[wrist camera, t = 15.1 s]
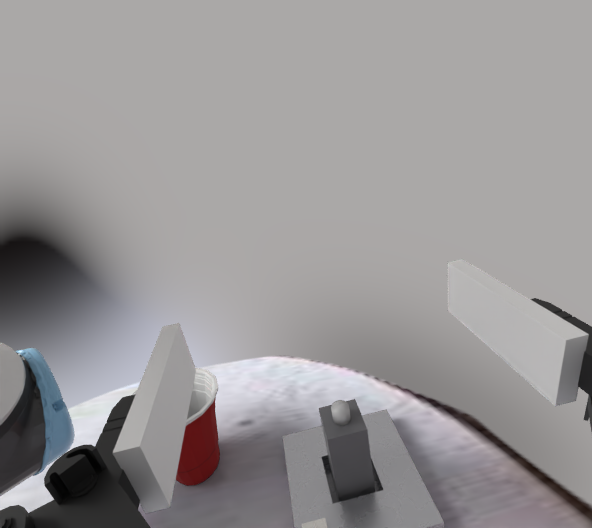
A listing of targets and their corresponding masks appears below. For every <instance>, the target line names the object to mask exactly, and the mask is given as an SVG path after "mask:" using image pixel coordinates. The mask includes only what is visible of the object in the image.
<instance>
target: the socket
mask: <svg viewBox="0 0 592 528" xmlns="http://www.w3.org/2000/svg"><path fill="white" fill-rule="evenodd" d="M362 418H363V420H364V422H365V425H366V427H367V430H368V438H369V446H370V454H371V462H372V470H373V478H374V486H375V493H371V494H367V495H363V496H360V497H356V498H352V499H349V500H345V501H341V502H339V500H338V496H337V492H336V488H335V484H334V480H333V476H332V473H331V468H330V463H329V458H328V453H327V448H326V443H325V438H324V432H323V427H322V426H319V427H315V428H312V429H308V430H304V431H300V432H296V433H292V434H288V435H284V436H282V437H283V445H284V452H285V460H286V468H287V475H288V483H289V491H290V498H291V506H292V513H293V521H294V528H444V521H443V519H442V517H441V515H440V513H439V511H438V509H437V507H436V505H435V503H434V501H433V500H432V498H431V496H430V494H429V492H428V490H427V488H426V486H425V484H424V482H423V480H422V478H421V476H420V474H419V472H418V470H417V468H416V466H415V464H414V462H413V460H412V458H411V456H410V455H409V453H408V451H407V449H406V447H405V445H404V443H403V441H402V439H401V437H400V435H399V433H398V431H397V429H396V427H395V425H394V423H393V421H392V419H391V417H390V415H389V413H388V412H387V410H382V411H378V412H375V413H371V414H367V415H363V416H362Z"/></svg>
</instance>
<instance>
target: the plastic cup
mask: <svg viewBox="0 0 592 528" xmlns="http://www.w3.org/2000/svg"><path fill="white" fill-rule="evenodd" d="M217 391H218V384H217V380H216V377H215V376H214V375H213V374H212V373H210V372H209V371H208V370H204V369H200V368H196V373H195V379H194V384H193V389H192V395H191V400H190V405H189V411H188V416H187V421H186V427H185V432H184V437H183V443H182V448H181V453H180V459H179V464H178V469H177V475H176V480H177V481H179V482H180V483H182V484H184V485H187V486H189V485H197V484H199V483H201V482H203V481H205V480H206V479H207V478H209V477H210V476H211V475H212V474H213V472H214V471H215V469H216V468H217V466H218V462H219V456H220V453H219V446H218V432H217V424H216V415H215V396H216V394H217ZM136 392H137V391H136ZM136 392H134V393H133V395H135V394H136Z"/></svg>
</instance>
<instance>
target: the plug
mask: <svg viewBox="0 0 592 528" xmlns="http://www.w3.org/2000/svg"><path fill="white" fill-rule="evenodd" d="M319 412H320V417H321V422H322V427H323V432H324V438H325V443H326V448H327V453H328V458H329V463H330V468H331V473H332V476H333V480H334V484H335V488H336V492H337V496H338V500H339V502H341V501H345V500H349V499H352V498H356V497H360V496H363V495H367V494H371V493H375V486H374V478H373V470H372V462H371V454H370V446H369V438H368V430H367V427H366V425H365V422H364V420H363V418H362V415H361V413H360V410H359V408H358V406H357V403H356V401H355V399H354V400H350V401H346V402H345V401H342V400H339V401H336V402H334V403H333V404H332V405H330V406H326V407H322V408H319Z"/></svg>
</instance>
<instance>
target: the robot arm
mask: <svg viewBox="0 0 592 528" xmlns="http://www.w3.org/2000/svg"><path fill="white" fill-rule="evenodd" d="M448 311H449V312H450V313H451V314H452V315H454V316H455V317H456V318H457V319H458V320H459V321H460V322H461V323H462V324H464V325H465V326H466V327H467V328H468V329H469V330H470V331H471V332H473V333H474V334H475V335H476V336H477V337H478V338H479V339H480V340H482V341H483V342H484V343H485V344H486V345H487V346H488V347H489V348H490V349H492V350H493V351H494V352H495V353H496V354H497V355H498V356H499V357H501V358H502V359H503V360H504V361H505V362H506V363H507V364H508V365H509V366H511V367H512V368H513V369H514V370H515V371H516V372H517V373H518V374H520V375H521V376H522V377H523V378H524V379H525V380H526V381H528V382H529V383H530V384H531V385H532V386H533V387H534V388H535V389H536V390H538V391H539V392H540V393H541V394H542V395H543V396H544V397H545V398H547V399H548V400H549V401H550V402H551V403H552V404H553V405H554V406H558V405H562V404H566V403H569V402H573V401H576V397H577V392H578V387H580V388H581V389H582V390H584V391H585V392H586V393H588V394H589V397H588V402H587V407H586V411H585V416H584V420H588V419H589V418H590V424H591V430H592V327H591V326H589V325H588V324H586V323H584V322H582V321H580V320H578V319H577V318H575V317H572V315H570V314H568V313H567V312H565V311H562V310H561V309H560V308H558V307H556V306H554V305H552V304H551V303H548V302H545V301H542V300H539V299H536V298H534V299H529V298H527V297H525V296H524V295H522V294H520V293H519V292H517V291H515V290H514V289H512V288H510V287H509V286H507V285H505V284H504V283H502V282H500V281H499V280H497V279H495V278H494V277H492V276H490V275H489V274H487V273H485V272H484V271H482V270H480V269H478V268H477V267H475V266H474V265H472V264H470V263H468V262H467V261H465V260H464V259H460V260H456V261H452V262H448ZM195 373H196V368H195V365H194V363H193V360H192V357H191V354H190V352H189V349H188V346H187V344H186V341H185V338H184V335H183V332H182V330H181V327H180V324H179V323H177V324H173V325H168V326H164V327H162V330H161V332H160V334H159V337H158V340H157V342H156V344H155V347H154V350H153V352H152V355H151V357H150V360H149V362H148V365H147V368H146V370H145V372H144V375H143V377H142V380H141V382H140V385H139V387H138V390H137V392H136V394H135V395H131V396H127V397H123V398H122V399H121V400H120V401H119V402H118V403H117V404H116V406H115V407H114V408H113V409H112V411H111V413H110V415H109V418H108V420H107V423H106V424H105V426H104V428H103V433H101V435H100V437H99V439H98V442H97V444H96V446H95V447H94V446H92V445H82V446H79V447H76V448H73V449H72V450H70V451H68V452H66V451H67V450H68V449H69V448H70V447H71V445H72V443H73V440H74V428H73V424H72V421H71V418H70V415H69V412H68V410H67V407H66V405H65V403H64V402H63V398H62V396H61V393H60V390H59V387H58V385H57V383H56V381H55V378H54V376H53V374H52V372H51V370H50V368H49V366H48V364H47V363H46V361H45V359H44V357H43V356H42V354H41V353H40V352H39V351H38V350H37V349H34V348H28V349H25V350H17V351H16V352H15V351H14V350H13V349H11V348H10V347H9V346H7V345H5V344H3V343H0V496H1V495H3V494H4V493H6V492H8V491H9V490H11V489H12V488H14V487H15V486H17V485H18V484H20V483H21V482H23V481H24V480H26V479H27V478H29V477H31V476H32V475H33V476H34V475H37V474H39V473H41V472H42V471H43V470H44V469H45V467H46V466H47V465H49V464H50V463H51V462H53V461H54V460H56V459H57V458H58V457H60V456H61V455H62V456H61V457H60V458H59V459H57V460H56V461H55V462H54V464H53V465H52V466H51V467H50V468H49V470H48V471H47V474H46V476H45V478H44V482H45V487H46V488H47V489H48V491H49V492H50V494H51V495H52V497H53V498H54V499H55V500H53V501H51V502H49V503H47V504H45V505H43V506H41V507H39V508H37V509H36V510H34V511H32V512H30V513H28V512H27V511H26V509H25V508H24V507H22V506H19V505H16V506H10V507H7V508H5V509H3V510H1V511H0V528H150V526H149V525H148V524H147V522H146V521H145V519H144V518H143V517H142V515H141V514H140V512H139V511H138V507H139V503H140V504H141V506H142V508H143V509H144V511H145V513H146V514H147V513H151V512H155V511H159V510H162V509H166V508H170V507H171V501H172V496H173V491H174V485H175V480H176V475H177V469H178V464H179V459H180V453H181V448H182V443H183V437H184V432H185V427H186V421H187V416H188V411H189V405H190V400H191V395H192V389H193V384H194V379H195ZM65 452H66V453H65ZM64 453H65V454H64Z"/></svg>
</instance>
